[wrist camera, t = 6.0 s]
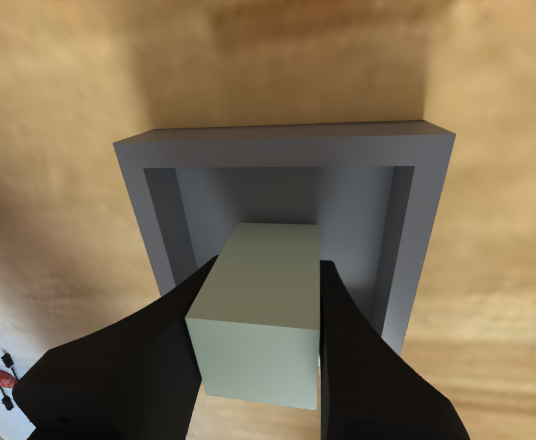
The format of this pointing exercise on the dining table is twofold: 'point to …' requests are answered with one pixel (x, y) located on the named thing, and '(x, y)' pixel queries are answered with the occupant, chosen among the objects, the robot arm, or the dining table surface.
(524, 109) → the dining table surface
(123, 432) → the robot arm
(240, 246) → the green block
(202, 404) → the dining table surface
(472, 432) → the dining table surface
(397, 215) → the bin
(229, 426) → the dining table surface
